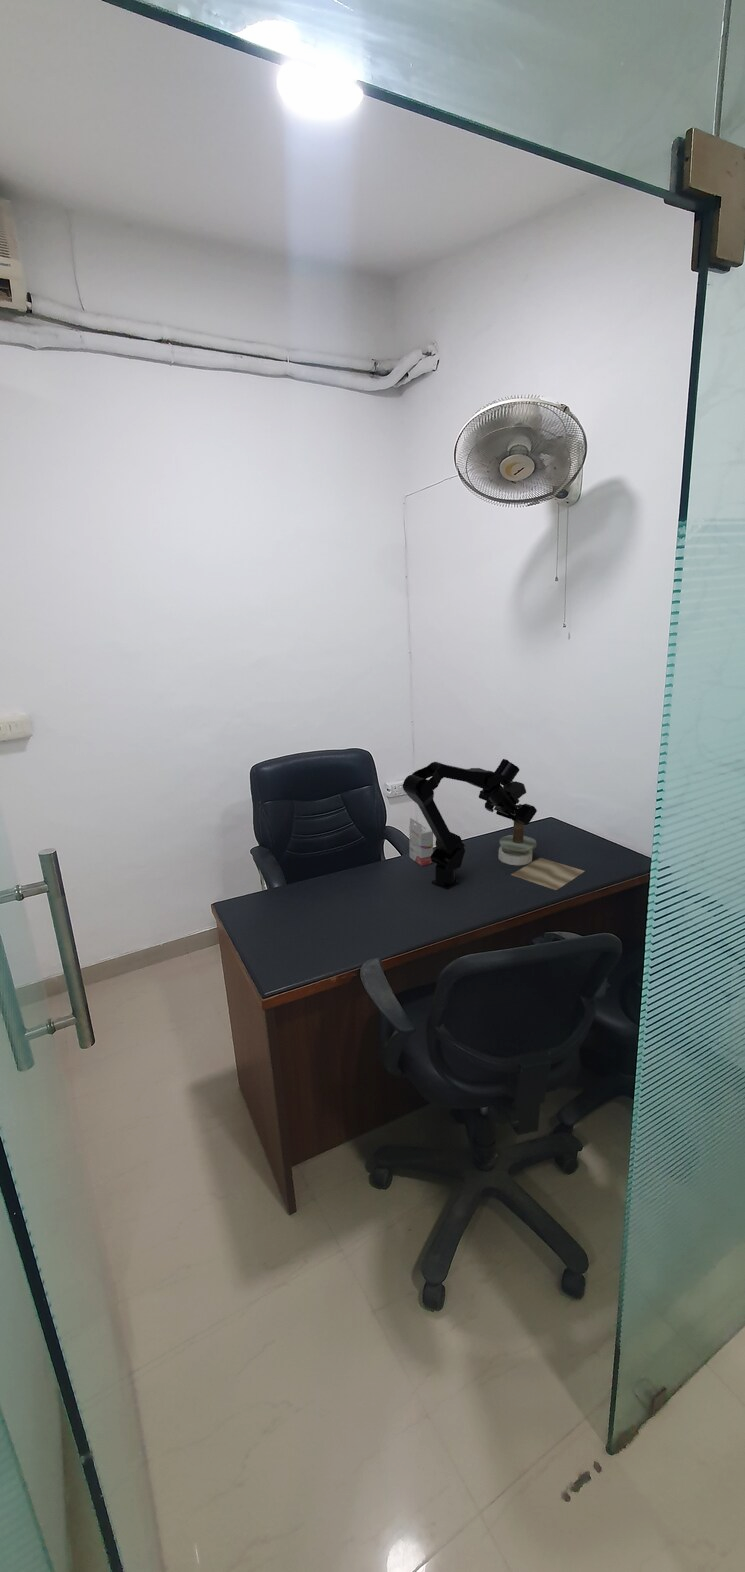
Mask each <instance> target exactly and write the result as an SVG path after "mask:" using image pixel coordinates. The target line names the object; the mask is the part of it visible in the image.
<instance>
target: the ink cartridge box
mask: <svg viewBox="0 0 745 1572" xmlns="http://www.w3.org/2000/svg"><path fill="white" fill-rule="evenodd" d="M408 829H409V834H408V835H409V839H408V840H409V858H410V859H411V860H412V861H414V862H416V864H418V865H419V866H421V867H422V866H426V865H431V863H432V864H434V862H432V861H431V858H430V856H431V855H432V854H433V852H434V833H433V832H432V830H431V828H430V827H428V826H426V825H424V824H423V823H420V822H418V820H415V819H414V818H412V817H410V818H409V828H408Z"/></svg>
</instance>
